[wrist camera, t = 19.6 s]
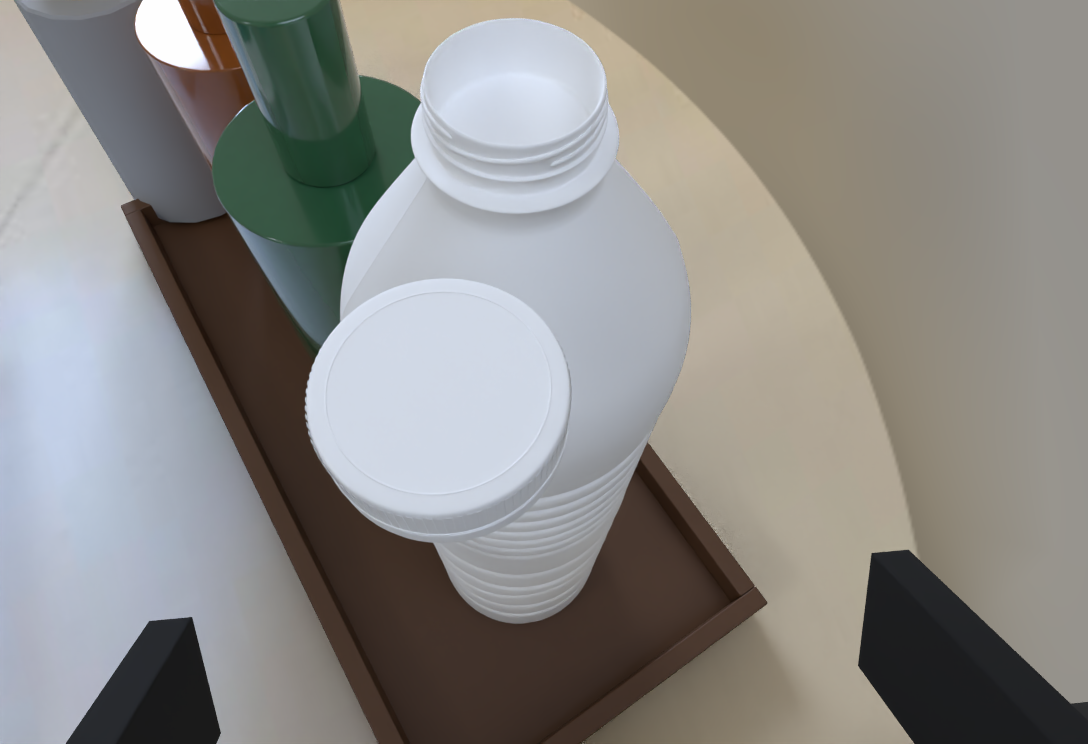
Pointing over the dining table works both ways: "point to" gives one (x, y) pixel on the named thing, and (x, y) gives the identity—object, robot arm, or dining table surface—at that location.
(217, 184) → the green bottle
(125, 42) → the soap bottle
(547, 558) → the water bottle
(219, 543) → the dining table surface
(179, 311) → the tray
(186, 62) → the amber bottle
